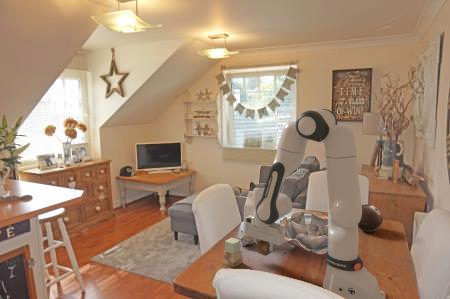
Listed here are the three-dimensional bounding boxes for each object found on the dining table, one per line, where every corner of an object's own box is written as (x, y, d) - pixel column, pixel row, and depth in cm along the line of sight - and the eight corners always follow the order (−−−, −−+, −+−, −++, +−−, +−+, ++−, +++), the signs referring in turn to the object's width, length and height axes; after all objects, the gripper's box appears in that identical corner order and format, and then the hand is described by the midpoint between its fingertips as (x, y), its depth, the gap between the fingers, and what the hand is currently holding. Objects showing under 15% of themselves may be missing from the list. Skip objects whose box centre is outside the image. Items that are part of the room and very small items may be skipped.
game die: (249, 253, 166) (254, 243, 159) (234, 246, 167) (238, 236, 160) (254, 239, 172) (259, 229, 165) (239, 232, 173) (243, 222, 166)
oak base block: (242, 262, 148) (241, 250, 147) (233, 267, 144) (233, 255, 143) (232, 258, 152) (232, 246, 151) (223, 263, 148) (223, 251, 147)
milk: (243, 241, 171) (242, 194, 167) (245, 233, 182) (244, 188, 178) (265, 243, 169) (265, 195, 165) (266, 234, 180) (266, 189, 176)
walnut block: (272, 251, 147) (272, 241, 147) (265, 255, 144) (265, 245, 143) (263, 249, 151) (263, 238, 150) (257, 252, 147) (256, 242, 147)
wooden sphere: (380, 238, 171) (381, 211, 169) (350, 232, 179) (351, 206, 177) (383, 228, 184) (384, 203, 182) (355, 224, 192) (356, 199, 190)
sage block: (240, 250, 147) (240, 240, 147) (233, 254, 144) (233, 243, 143) (232, 247, 151) (232, 237, 150) (225, 251, 147) (224, 240, 146)
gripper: (286, 222, 140) (287, 252, 142) (250, 213, 154) (251, 241, 156) (278, 226, 136) (279, 257, 138) (241, 217, 150) (243, 245, 152)
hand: (264, 248), depth 147 cm, fingers closed on walnut block, 5 cm apart
